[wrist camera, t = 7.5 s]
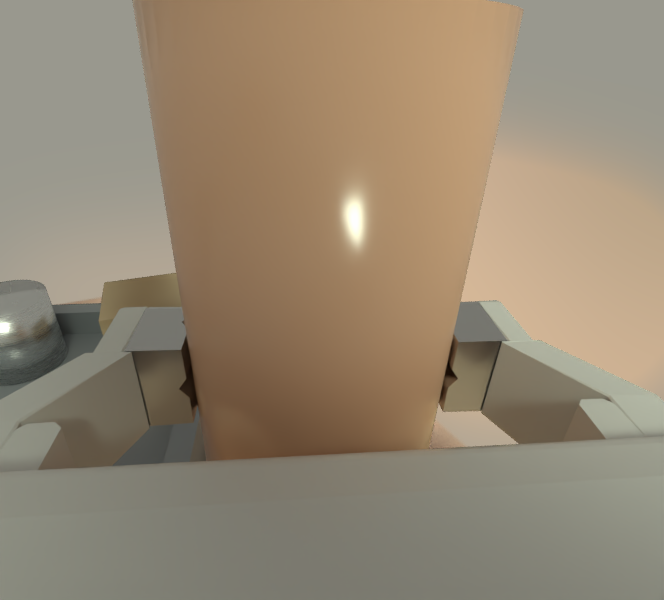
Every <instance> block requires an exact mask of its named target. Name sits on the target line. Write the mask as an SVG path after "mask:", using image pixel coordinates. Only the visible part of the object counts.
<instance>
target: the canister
mask: <svg viewBox="0 0 664 600" xmlns="http://www.w3.org/2000/svg"><path fill="white" fill-rule="evenodd" d="M132 1H133V7H134V13H135V19H136V26H137V31H138V38H139V44H140V49H141V57H142V63H143V69H144V75H145V82H146V88H147V94H148V100H149V106H150V113H151V119H152V125H153V131H154V137H155V143H156V150H157V156H158V162H159V168H160V174H161V181H162V187H163V193H164V199H165V206H166V211H167V218H168V224H169V230H170V237H171V243H172V249H173V255H174V261H175V268H176V274H177V280H178V286H179V293H180V299H181V305H182V311H183V317H184V324H185V330H186V336H187V342H188V349H189V355H190V361H191V367H192V373H193V380H194V386H195V392H196V398H197V404H198V411H199V417H200V423H201V429H202V435H203V442H204V448H205V454H206V460H207V461H215V460H234V459H252V458H271V457H290V456H308V455H327V454H346V453H364V452H383V451H400V450H419V449H429V445H430V440H431V436H432V431H433V426H434V422H435V417H436V413H437V408H438V403H439V399H440V394H441V389H442V385H443V380H444V376H445V371H446V366H447V362H448V357H449V352H450V348H451V343H452V339H453V334H454V329H455V325H456V320H457V316H458V311H459V306H460V302H461V297H462V292H463V288H464V283H465V279H466V274H467V269H468V264H469V260H470V255H471V251H472V246H473V242H474V237H475V232H476V228H477V223H478V218H479V214H480V209H481V204H482V200H483V195H484V191H485V186H486V182H487V177H488V172H489V167H490V163H491V158H492V154H493V149H494V145H495V140H496V135H497V130H498V126H499V121H500V117H501V112H502V107H503V103H504V98H505V94H506V89H507V84H508V80H509V75H510V71H511V66H512V61H513V57H514V52H515V48H516V42H517V38H518V33H519V29H520V24H521V20H522V15H523V9H521V8H520V7H517V6H513V5H510V4H504V3H500V2H493V1H487V0H132Z"/></svg>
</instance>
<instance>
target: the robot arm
mask: <svg viewBox="0 0 664 600" xmlns="http://www.w3.org/2000/svg"><path fill="white" fill-rule="evenodd" d="M439 404H440V406H441V409H442V411H443V412H457V411H482V412H481V413H482V414H483V415H485V416H486V417H487V418H488V419H489V420H491V421H492V422H493V423H494V424H495V425H497V426H498V427H499V428H500V429H502V430H503V431H504V432H505V433H506V434H508V435H509V436H510V437H511V438H513V439H514V440H515V441H516V442H518V443H519V444H512V445H493V446H475V447H456V448H437V449H419V450H400V451H383V452H364V453H346V454H327V455H308V456H290V457H271V458H252V459H234V460H215V461H196V462H178V463H159V464H140V465H121V466H112V465H113V464H114V463H115V462H116V461H117V460H118V459H119V458H120V457H121V456H122V455H123V454H124V453H125V452H126V451H127V450H128V449H129V448H130V447H131V446H132V445H133V444H134V443H135V442H136V441H137V440H138V439H139V438H140V437H141V436H142V435H143V434H144V433H145V432H146V431H147V430H148V429H149V426H157V425H171V424H185V423H194V419H195V415H196V410H197V406H198V404H197V398H196V392H195V386H194V380H193V373H192V367H191V361H190V355H189V349H188V342H187V336H186V330H185V324H184V317H183V311H182V307H124V308H121V309H120V310H119V311H118V313H117V314H116V316H115V318H114V319H113V321H112V322H111V324H110V326H109V327H108V329H107V331H106V332H105V334H104V336H103V337H102V339H101V340H100V342H99V344H98V345H97V347H96V349H95V350H94V352H93V353H84V354H82V355H81V356H79V357H77V358H75V359H73V360H71V361H70V362H68V363H66V364H64V365H62V366H61V367H59V368H57V369H55V370H53V371H51V372H50V373H48V374H46V375H44V376H42V377H41V378H39V379H37V380H35V381H33V382H32V383H30V384H28V385H26V386H24V387H22V388H21V389H19V390H17V391H15V392H13V393H12V394H10V395H8V396H6V397H4V398H2V399H1V400H0V600H664V402H663V400H662V399H660V398H659V397H658V396H657V395H656V394H653V393H651V392H649V391H647V390H645V389H643V388H641V387H639V386H636V385H634V384H632V383H630V382H628V381H626V380H624V379H621V378H619V377H617V376H615V375H613V374H611V373H609V372H606V371H604V370H602V369H600V368H598V367H596V366H594V365H592V364H589V363H587V362H585V361H583V360H581V359H579V358H576V357H574V356H572V355H570V354H568V353H566V352H564V351H562V350H559V349H557V348H555V347H553V346H551V345H549V344H547V343H544V342H542V341H540V340H537V341H536V340H532V339H531V337H530V336H529V335H528V334H527V333H526V332H525V330H524V329H523V328H522V327H521V326H520V324H519V323H518V322H517V321H516V320H515V319H514V317H513V316H512V315H511V314H510V313H509V311H508V310H507V309H506V308H505V307H504V306H503V304H502V303H501V302H499V301H496V300H493V301H477V302H476V301H475V302H460V306H459V311H458V316H457V320H456V325H455V329H454V334H453V339H452V343H451V348H450V352H449V357H448V362H447V366H446V371H445V376H444V380H443V385H442V389H441V394H440V399H439Z"/></svg>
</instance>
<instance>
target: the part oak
mask: <svg viewBox="0 0 664 600" xmlns="http://www.w3.org/2000/svg"><path fill="white" fill-rule="evenodd" d="M124 307H182V305H181V299H180V293H179V286H178V280H177V274H176V273H171V274H164V275H157V276H150V277H142V278H135V279H128V280H120V281H113V282H105V283H104V288H103V295H102V301H101V308H100V315H99V324H100V327H101V331H102V334H103V336H104V334H105V332H106V331H107V329H108V327H109V326H110V324H111V322H112V321H113V319H114V318H115V316H116V314H117V313H118V311H119V310H120V309H121V308H124Z"/></svg>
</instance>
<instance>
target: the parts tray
mask: <svg viewBox="0 0 664 600" xmlns="http://www.w3.org/2000/svg"><path fill="white" fill-rule="evenodd" d="M52 307H53V310H54V313H55V315H56V318H57V321H58V324H59V327H60V330H61V332H62V335H63V338H64V341H65V344H66V346H67V349H68V354H67V357H66V359H65V360H64V362H63V363H62V364H61V365H60V366H59V367H61V366H62V365H64V364H66V363H68V362H70V361H71V360H73V359H75V358H77V357H79V356H81V355H82V354H84V353H93V352H94V350H95V349H96V347H97V345H98V344H99V342H100V340H101V339H102V337H103V334H102V331H101V327H100V324H99V315H100V308H101V303H98V304H66V305H52ZM59 367H57V368H59ZM57 368H56V369H57ZM38 379H39V378H38ZM36 380H37V379H36ZM33 381H35V380H33ZM33 381H30V382H27V383H23V384H18V385H12V386H0V400H1V399H2V398H4V397H6V396H8V395H10V394H12V393H13V392H15V391H17V390H19V389H21V388H22V387H24V386H26V385H28V384H30V383H32V382H33ZM196 461H206V454H205V448H204V442H203V435H202V429H201V423H200V417H199V411H198V406H197V410H196V415H195V419H194V423H185V424H171V425H157V426H149V429H148V430H147V431H146V432H145V433H144V434H143V435H142V436H141V437H140V438H139V439H138V440H137V441H136V442H135V443H134V444H133V445H132V446H131V447H130V448H129V449H128V450H127V451H126V452H125V453H124V454H123V455H122V456H121V457H120V458H119V459H118V460H117V461H116V462H115V463H114V464H113V465H112V466H121V465H140V464H159V463H178V462H196Z"/></svg>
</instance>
